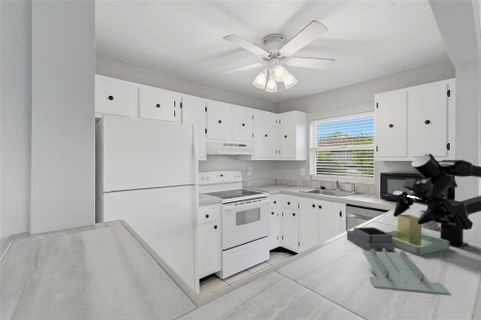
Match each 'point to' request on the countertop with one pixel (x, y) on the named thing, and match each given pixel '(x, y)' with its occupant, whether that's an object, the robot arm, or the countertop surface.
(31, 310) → the countertop surface
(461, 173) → the robot arm
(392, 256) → the metal bracket
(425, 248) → the parts tray
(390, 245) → the dark grey stepped fixture
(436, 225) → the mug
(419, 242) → the tan note paper block
